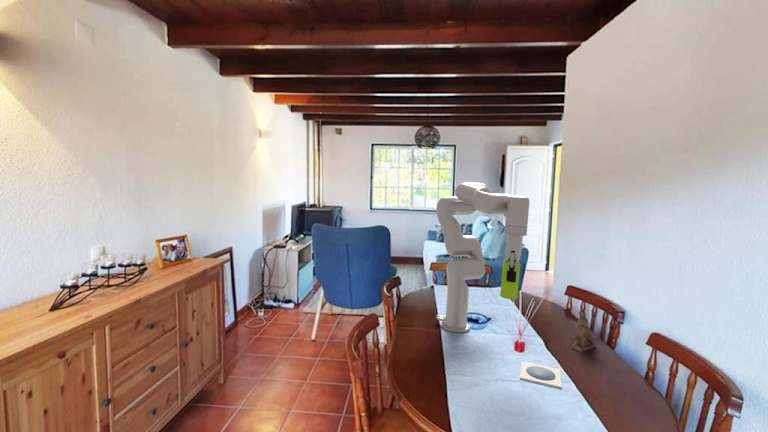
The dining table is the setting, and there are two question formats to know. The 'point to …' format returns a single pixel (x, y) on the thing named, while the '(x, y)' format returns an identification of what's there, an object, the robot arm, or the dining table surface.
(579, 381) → the dining table surface
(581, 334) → the brown carved statuette
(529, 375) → the card
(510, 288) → the soap dispenser
